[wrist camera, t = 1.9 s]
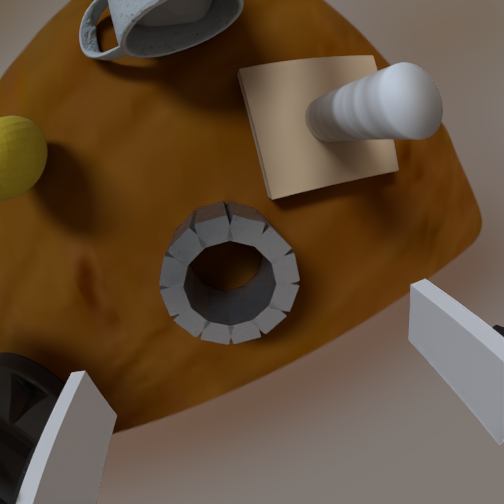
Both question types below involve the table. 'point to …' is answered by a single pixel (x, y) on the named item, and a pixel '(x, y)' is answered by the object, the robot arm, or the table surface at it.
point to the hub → (235, 300)
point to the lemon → (20, 155)
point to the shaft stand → (334, 118)
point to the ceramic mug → (157, 25)
